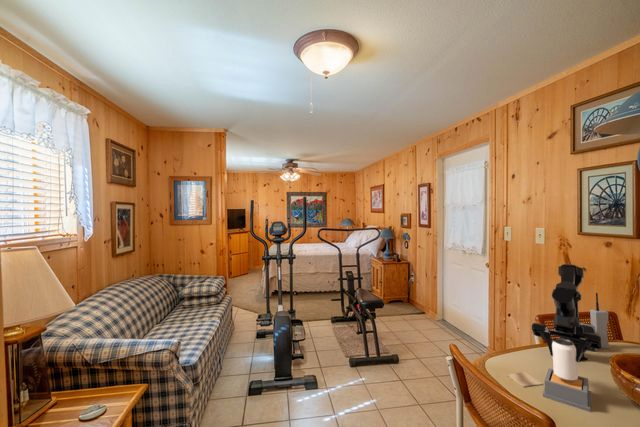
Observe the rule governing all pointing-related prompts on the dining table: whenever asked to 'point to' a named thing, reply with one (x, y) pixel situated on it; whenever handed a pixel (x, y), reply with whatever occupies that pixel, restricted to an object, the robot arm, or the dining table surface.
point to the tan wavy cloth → (524, 379)
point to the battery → (589, 331)
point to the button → (568, 382)
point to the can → (564, 359)
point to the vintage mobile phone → (600, 323)
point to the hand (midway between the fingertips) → (564, 358)
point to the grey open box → (568, 392)
